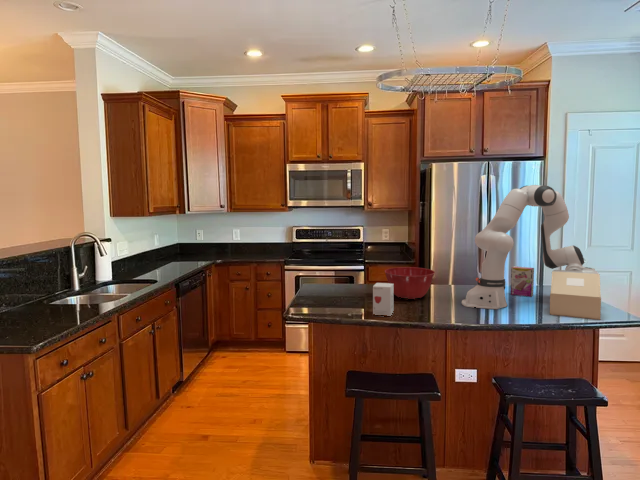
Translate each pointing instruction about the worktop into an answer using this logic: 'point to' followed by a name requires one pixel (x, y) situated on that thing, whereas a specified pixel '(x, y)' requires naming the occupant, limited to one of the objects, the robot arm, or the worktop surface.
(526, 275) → the candy bar box
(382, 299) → the supplement box
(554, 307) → the carton
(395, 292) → the mixing bowl
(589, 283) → the carton flap
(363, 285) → the worktop surface
